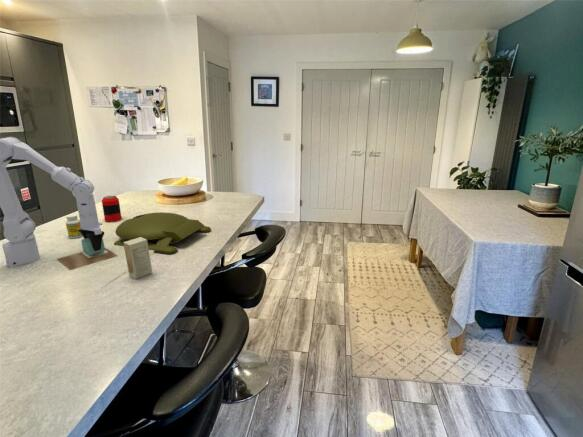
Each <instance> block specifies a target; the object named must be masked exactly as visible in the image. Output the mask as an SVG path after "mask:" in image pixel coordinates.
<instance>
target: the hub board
mask: <svg viewBox="0 0 583 437" xmlns="http://www.w3.org/2000/svg"><path fill="white" fill-rule="evenodd" d="M116 257H119V255H118V254H116V253H114V252H113V251H111V250H109V248H107V247H105V251H103V252H99V253H96V254H93V255H88V254H86V253H85V252H84V251H81V252H77V253H73V254H70V255H66V256H62V257H60V258H56V260H57V261H58V262H59V263H61V265H63V266H64V267H65V268H67V269H68V270H69V271H72V270H73V271H74V270H75V269H79V268H83V267H85V266H89V265H92V264H95V263H100V262H102V261H107V260H110V259H112V258H116Z"/></svg>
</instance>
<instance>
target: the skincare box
mask: <svg viewBox="0 0 583 437" xmlns="http://www.w3.org/2000/svg"><path fill="white" fill-rule="evenodd" d="M128 240H129V239H128ZM123 243H124V246H123V248H124V253H125V254H124V255H125V259H126V260H125V261H126V264H127V271H128V276H129V277H131V278H133V279H134V280H137V279H140V278H142V277H144V276H147V275H149V274H152V273H153V269H152V263H151V257H150V256H151V255H150V250H149V249H148V243H149V242H148V240H147V239H144V238H142V237H139V238H136V239H132V240H129V241H126V242H123Z"/></svg>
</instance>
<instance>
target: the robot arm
mask: <svg viewBox="0 0 583 437" xmlns="http://www.w3.org/2000/svg"><path fill="white" fill-rule="evenodd" d="M12 160H21V161H23V160H24V161H27V162H28V163H31V164H33V165H34V166H35V167H38V168H39V169H41V170H43V171H44V172H46V173H48V174H50V177H51V180H52V181H54V182H55V183H57V184H58V185H60V186H62V187H63V188H65V189H67V190H68V191H70V192H71V193H72V195H73V197H74V198H75V200H76V206H77V212H78V217H79V218H78V219H79V220H80V224H81V229H79V230H78V231H79V232H80V233H81V234H82V236H81V237H82V238H83V239H86V238H89V239H90V241H91V244H92V247H93V249H94V251H98V250H101V243H102V239H103V237H104V236H105V232H104V231H103V230H102V228H101V226H102V225H103V222H100V221H99V218H98V211H97V206H96V201H95V197H94V191H95V186H94V184H93V183H92V182H91V181H90V180H88V179H85V178H84V177H83V176H81V177H80V176H79V175H77V174H76V173H73V172H72V168H70V167H65V166H57V165H56V164H54V163H53V162H52V161H50V160H49V159H47V158H45V157H44V156H43V155H42V154H40V153H39V152H37V151H36V150H35V149H33V148H32V147H30V145H28V144H27V143H25V142H23V141H21V140H20V139H18V138H16V137H14V136H6V137H2V138H0V209H1V211H2V214H3V220H2V226H3V236H4V238H5V239H6V240H7V241H8V242H4V243H2V244H1V245H2V249H3V254H4V257H5V262H6V265H7V266H8V267H9V268H10V269H11V268H14V267H17V266H21V265H26V264H30V263H33V262H36V261H39V260H40V259H41V256H40V252H39V248H38V243H37V239H36V235H35V234H34V232H35V231H36V227H37V226H36V223H35V221H34V220H32V219H31V217H30V215H29V214H28V213H27V212H26V211H24V209H23V207H22V204H21V203H20V200H19V198H18V195H17V193H16V190H15V188H14V185H13V183H12V180H11V177H10V175H9V172H8V170H7V166H8V164H10V162H12Z"/></svg>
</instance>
